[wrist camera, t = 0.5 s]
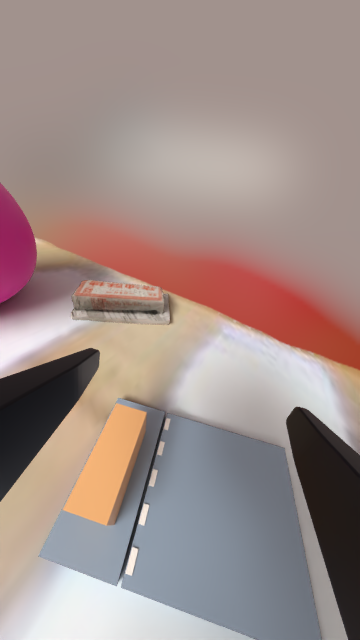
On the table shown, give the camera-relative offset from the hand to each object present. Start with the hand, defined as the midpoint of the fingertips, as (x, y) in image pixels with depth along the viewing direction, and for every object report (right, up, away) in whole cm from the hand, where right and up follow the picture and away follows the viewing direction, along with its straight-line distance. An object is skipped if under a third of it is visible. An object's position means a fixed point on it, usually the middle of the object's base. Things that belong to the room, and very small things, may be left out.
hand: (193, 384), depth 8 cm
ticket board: (+3, -14, +9) cm, 17 cm away
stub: (-7, -12, +10) cm, 17 cm away
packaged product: (-12, +5, +29) cm, 32 cm away
